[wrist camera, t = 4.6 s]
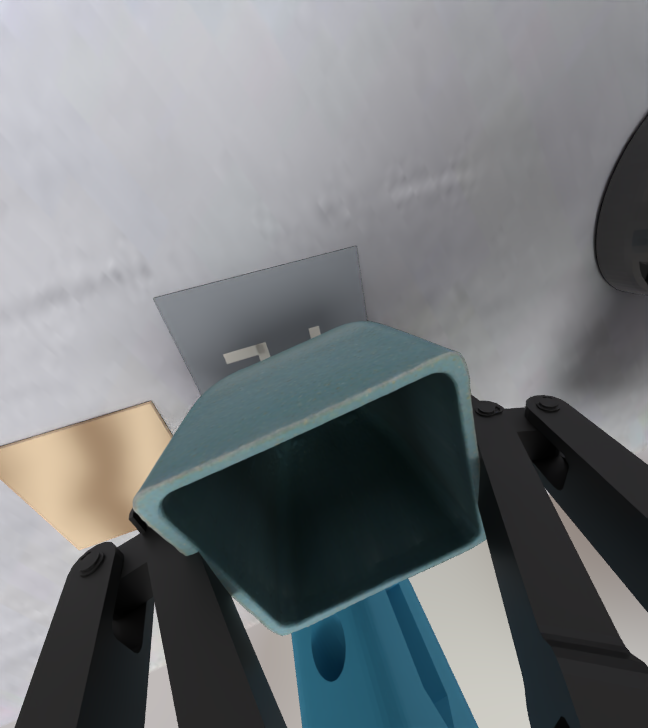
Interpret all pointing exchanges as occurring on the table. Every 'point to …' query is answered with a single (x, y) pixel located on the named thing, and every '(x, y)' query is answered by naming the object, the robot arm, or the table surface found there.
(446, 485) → the flower pot
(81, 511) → the cork mat
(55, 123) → the table surface
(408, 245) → the table surface
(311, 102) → the table surface
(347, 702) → the block
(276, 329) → the tile
